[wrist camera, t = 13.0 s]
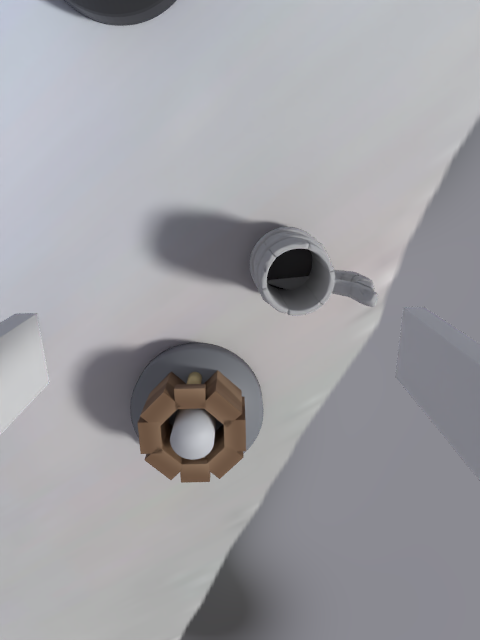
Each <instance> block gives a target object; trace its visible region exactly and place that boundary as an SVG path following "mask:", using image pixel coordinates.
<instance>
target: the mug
mask: <svg viewBox="0 0 480 640" xmlns="http://www.w3.org/2000/svg"><path fill="white" fill-rule="evenodd" d="M292 249H308V250H310V251H311V254H312V260H313V264H312V269H311V272H310V274H309V276H306V277H295V278H284V279H272V280H267V274H268V271H269V268H270V266H271V264H272V263H273V261H274V260H275V259H276V257H278V256H279V255H281V254H282V253H284V252H286V251H288V250H292ZM250 272H251V276H252V279H253V281H254V283H255V285H256V286H257V289H258V291H259V292H260V294H261V296H262V298H263V300H264V301H265V302H267V303H268V304H270V305H271V306H272V307H273V308H275V309H276V310H277V311H279V312H282V313H287V314H288V315H292V316H301V315H306V314H309V313H312V312H314V311H316V310H317V309H319V308H320V307H321V304H322V305H323V304H325V302H326V301H327V300H328V299H329V297H330V295H331V293H333V294H338V295H342V296H347V297H351V298H352V299H354V300H356V301H358V302H359V303H362V304H364V305H366V306H371V307H375V305H376V302H377V299H378V294H377V293H376V292H374V286H373V282H372V280H370V279H369V278H367V277H365V276H363V275H361V274H359V273H356V272H350V271H339V270H334V267H333V266H332V263H331V260H330V258H329V255H328V254H327V252H326V250H325V248H324V246H323V245H322V244H321V243H319V242H317V240H316V239H315V238H314V237H312V236H311V235H310V234H309V233H307V232H306V231H304V230H301V229H298V228H294V227H279V228H277V229H274V230H272V231H270V232H268V233H266V234H265V235H264V236H263V237H261V238H260V240H259V241H258V242H257V243H256V245H255V247H254V248H253V251H252V252H251V255H250ZM267 283H269V284H272V285H276V286H279V287H282V288H285V289H286V290H283V289H276V288H274V287H272V286H270V285H268V284H267Z"/></svg>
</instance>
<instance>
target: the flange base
mask: <svg viewBox="0 0 480 640" xmlns="http://www.w3.org/2000/svg"><path fill="white" fill-rule="evenodd" d="M217 370H218V371H219V372H221V373H222V374H223V375H224V376H225V377H226V378H228V379H229V380H230V381H231V382H232V383H233V384H235V385H236V386H237V387H238V388H239V389H240V390H241V391H242V397H245V419H246V451H247V450H248V449H249V448H250V446H251V445H252V444H253V442H254V441H255V439H256V438H257V436H258V434H259V431H260V429H261V426H262V421H263V401H262V393H261V389H260V385H259V382H258V380H257V378H256V376H255V374H254V372H253V371H252V370H251V368H250V367H249V366H248V365H247V364H246V363H245V362H244V360H242V359H241V358H240V357H239V356H237V355H236V354H234V353H233V352H231V351H229V350H227V349H225V348H222V347H219V346H216V345H212V344H206V343H188V344H183V345H178V346H176V347H173V348H170V349H168V350H166V351H164V352H162V353H161V354H160V355H158V356H157V357H155V358H154V359H153V360H152V361H151V362H150V363H149V364H148V366H147V367H146V368H145V370H144V371H143V373H142V374H141V376H140V378H139V380H138V382H137V384H136V386H135V389H134V391H133V394H132V398H131V406H130V410H131V419H132V423H133V426H134V429H135V431H136V433H137V435H138V437H139V432H138V420H139V418H140V415H141V412H142V410H143V408H144V405H145V403H146V401H147V399H148V396H149V394H150V392H151V391H152V390H153V389H154V388H155V387H156V386H157V385H158V384H159V383H160V382H161V381H162V380H163V379H164V378H165V377H166V376H167V375H168V374H169V373H170V372H171V371H172V372H173V373H174V374H175V375H176V376H178V377H179V378H180V379H181V380H182V381H184V382H185V383H186V384H204V383H205V382H206V381H207V380H208V379H209V378H210V377H211V376H212V375H213V374H214V373H215V372H216V371H217ZM169 423H170V424H171V425H172V426H173V429H172V433H171V436H170V443H171V447H172V449H173V450H174V451H175V453H176V454H178V455H179V456H181V457H183V458H185V459H191V460H194V459H200V458H205V456H206V455H207V454H209V453H210V451H211V450H212V448H213V445H214V437H215V432H216V431H217V430H218V429H219V428H220V427H221V426H222V425H223V424H222V423H221V422H220V421H219V420H217V419H216V418H215V417H214V416H213V415H211V414H210V413H209V412H208V411H206V410H205V409H177V410H176V411H175V412H174V413H173V414H172V415H171V416H170V417H169ZM246 451H243V453H245V452H246Z"/></svg>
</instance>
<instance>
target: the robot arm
mask: <svg viewBox="0 0 480 640" xmlns="http://www.w3.org/2000/svg"><path fill="white" fill-rule="evenodd" d="M64 1H65V2H66V3H67V4H69V5H70V6H71V7H72V8H74V9H75V10H76V11H78V12H80V13H81V14H83V15H85V16H86V17H89V18H91V19H93V20H96V21H98V22H102V23H106V24H111V25H133V24H138V23H142V22H145V21H148V20H150V19H152V18H154V17H156V16H158V15H160V14H161V13H163V12H164V11H165V10H167V9H168V8H169V7H170V6H171V5H172V4H174V2H175V1H176V0H64ZM395 377H396V378H397V380H398V381H399V382H400V383H401V384H402V386H403V387H404V388H405V390H406V391H407V392H408V393H409V394H410V396H411V397H412V398H413V399H414V401H415V402H416V403H417V404H418V405H419V407H420V408H421V409H422V410H423V412H424V413H425V414H426V415H427V417H428V418H429V419H430V420H431V422H432V423H433V424H434V425H435V426H436V428H437V429H438V430H439V431H440V433H441V434H442V435H443V436H444V438H445V439H446V440H447V441H448V442H449V444H450V445H451V446H452V447H453V449H454V450H455V451H456V452H457V454H458V455H459V456H460V457H461V459H462V460H463V461H464V462H465V463H466V465H467V466H468V467H469V468H470V469H471V471H472V472H473V473H474V475H475V476H476V477H477V478H478V479H479V481H480V343H478V342H477V341H475V340H474V339H472V338H471V337H469V336H468V335H466V334H465V333H463V332H462V331H460V330H459V329H457V328H456V327H454V326H452V325H451V324H450V323H448V322H446V321H445V320H443V319H442V318H440V317H439V316H437V315H436V314H435V313H433V312H431V311H430V310H428V309H427V308H425V307H404V308H403V316H402V323H401V333H400V341H399V349H398V358H397V366H396V375H395ZM49 383H50V382H49V377H48V371H47V366H46V360H45V355H44V349H43V344H42V338H41V333H40V327H39V322H38V316H37V313H25V314H14V315H12V316H11V317H9V318H7V319H6V320H4V321H2V322H1V323H0V435H1V434H2V433H3V432H4V430H5V429H6V428H7V427H8V426H9V425H10V424H11V423H12V422H13V421H14V420H15V419H16V418H17V417H18V416H19V414H20V413H21V412H22V411H23V410H24V409H25V408H26V407H27V406H28V405H29V404H30V403H31V402H32V401H33V400H34V399H35V397H36V396H37V395H38V394H39V393H40V392H41V391H42V390H43V389H44V388H45V387H46V386H47V385H48V384H49Z"/></svg>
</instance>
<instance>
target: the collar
mask: <svg viewBox="0 0 480 640" xmlns="http://www.w3.org/2000/svg"><path fill="white" fill-rule="evenodd" d="M177 409H205V410H206V411H208V412H209V413H210V414H211V415H213V416H214V417H215V418H216V419H217V420H219V421H220V422H221V423H222V424H223V425H222V426H221V427H220V428H219V429H218V430H217V431H216V432H215V437H214V445H213V448H212V450H211V451H210V453H209V454H207V455H206V456H205V458H200V459H194V460H191V459H185V458H183V457H181V456H179V455H178V454H176V453H175V451H174V450H173V449H172V447H171V443H170V436H171V433H172V429H173V426H172V425H171V424H170V423H169V417H170V416H171V415H172V414H173V413H174V412H175V411H176V410H177ZM138 432H139V441H140V451H141V454H146V457H145V461H146V462H148V463H149V464H150V465H152V466H153V467H154V468H156V469H157V470H158V471H160V472H161V473H162V474H164V475H165V476H166V477H167V478H169V479H170V480H172V479H173V478H174V477H175V476H176V475H177V474H178V473H179V472H180V474H181V482H210V472H211V473H213V474H214V475H215V476H216V477H218V478H219V479H220V478H221V477H222V476H223V475H224V474H226V473H227V472H228V471H229V470H230V469H231V468H232V467H233V466H234V465H236V464H237V463H238V462H239V461H240V460H241V459H242V458H243V451H246V419H245V397H242V391H241V390H240V389H239V388H238V387H237V386H236V385H235V384H233V383H232V382H231V381H230V380H229V379H228V378H226V377H225V376H224V375H223V374H222V373H221V372H219V371H218V370H217V371H216V372H215V373H214V374H213V375H212V376H211V377H210V378H209V379H208V380H207V381H206V382H205V383H204V384H186V383H185V382H184V381H182V380H181V379H180V378H179V377H178V376H176V375H175V374H174V373H173V372H172V371H171V372H170V373H169V374H168V375H167V376H166V377H165V378H164V379H163V380H162V381H161V382H160V383H159V384H158V385H157V386H156V387H155V388H154V389H153V390H152V391H151V392H150V394H149V396H148V399H147V401H146V403H145V405H144V408H143V410H142V412H141V415H140V418H139V420H138Z"/></svg>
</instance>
